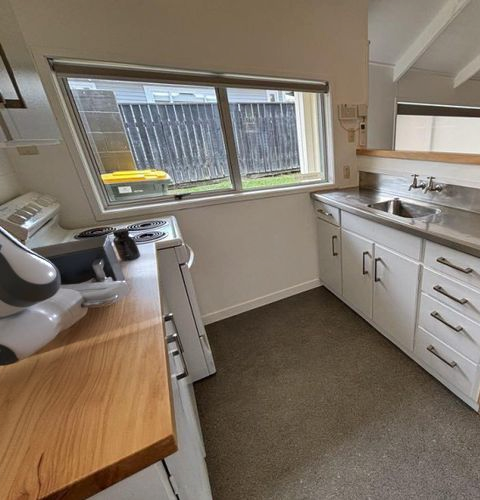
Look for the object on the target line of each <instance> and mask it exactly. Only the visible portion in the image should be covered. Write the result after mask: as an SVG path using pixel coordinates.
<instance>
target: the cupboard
mask: <svg viewBox="0 0 480 500" xmlns="http://www.w3.org/2000/svg"><path fill="white" fill-rule="evenodd" d="M102 247H104V249H105V251H106V254H107V256H108V259H109V261H110V264H111V266H112V269H113V271H114V274H115V276H116V279H117V281H126V280H125V279H126V277H125V275H124V272H123V269H122V267H121V265H120V262H119V259H118V256H117V254H116V252H115V249H114V245H113V244H112V241H111V238H110V236H109V235H108V234H106V235H102V236H96V237H95V236H94V237H90V238H84V239H78V240H72V241H67V242H61V243H56V244H48V245H44V246H38V247H33V248H29V249H30V250H31V251H33V252H35V253H36V254H38V255H40V256H42V257H44V258H50V257H55V256H60V255H65V254H71V253H76V252H81V251H86V250H92V249H97V248H102Z"/></svg>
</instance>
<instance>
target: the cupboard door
mask: <svg viewBox="0 0 480 500" xmlns="http://www.w3.org/2000/svg"><path fill="white" fill-rule="evenodd" d="M45 259H47V260H48V261H50V262H51V263H52V264H54V265H55V267H56V268H57V269H58V271H59V274H60V277H61V285H69V284H80V283H83V282H87V281H90V280H91V279H93V278H98V281H99V282H102V281H101V280H102V279H104V278H107V277H111V278H112V280H113V281H117V279H116V276H115V274H114V271H113V269H112V266H111V264H110V261H109V259H108V256H107V254H106V251H105V249H104V247H102V248H97V249H92V250H86V251H81V252H76V253H71V254H65V255H60V256H55V257H50V258H45Z"/></svg>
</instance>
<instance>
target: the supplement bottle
mask: <svg viewBox="0 0 480 500" xmlns="http://www.w3.org/2000/svg"><path fill="white" fill-rule="evenodd" d="M112 234H113V237H114V238H113V239H112V242H113V246H114V247H115V250H116V252H117V256H118V257H119V259H120V261H122V262H128V261H127V260H129V261H133V260H136V259H138V258H140V257H141V253H140V250H139V247H138V243H137V242H136V238H135V237H134V236H133V235H132V234H130V231H129V229H128V228H119V229H115V230H113V231H112ZM135 258H136V259H135ZM132 259H133V260H132Z"/></svg>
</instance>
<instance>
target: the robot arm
mask: <svg viewBox="0 0 480 500" xmlns="http://www.w3.org/2000/svg"><path fill="white" fill-rule="evenodd" d="M30 249H31V248H29V247H27V246H25V245H24V244H23V243H21V242H20V241H19V240H18V239H17V238H15V237H14V236H13V235H12V234H11V233H9V232H8V231H7V230H6V229H4V228H3V227H2V226H1V225H0V367H5V366H10V365H13V364H17V363H19V362H21V361H23V360H25V359H27V358H29V357H30V356H32V355H34V354H35V353H37V352H38V351H40V350H42V349H43V348H44V347H45V346H47V345H48V344H50V343H51V342H52V341H53V340H55V338H56V337H57V336H58V334H59V333H61V332H63V331H66V330H67V329H69V328H70V327H71V326H73V325H74V324H75V323H77V322H78V321H80V320H81V319H82V318H83V317H85V315H87V313H88V310H89V309H90V308H101V307H108V306H111V305H114V304H116V303H117V302H119V301H120V300H121V299H124V298H125V296H127V295H129V294H130V292H131V290H130V286H129V284H128V283H127V281H126V280H125V281H113V280H112V278H111V277H107V278H104V279H102V280H101V281H102V282H99V281H98V278H93V279H91V280H90V281H87V282H83V283H80V284H69V285H61V277H60V274H59V271H58V269H57V268H56V267H55V265H54V264H52V263H51V262H50V261H48V260H47V259H45V258H44V257H42V256H40V255H38V254H36V253H35V252H33V251H31V250H30Z"/></svg>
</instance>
